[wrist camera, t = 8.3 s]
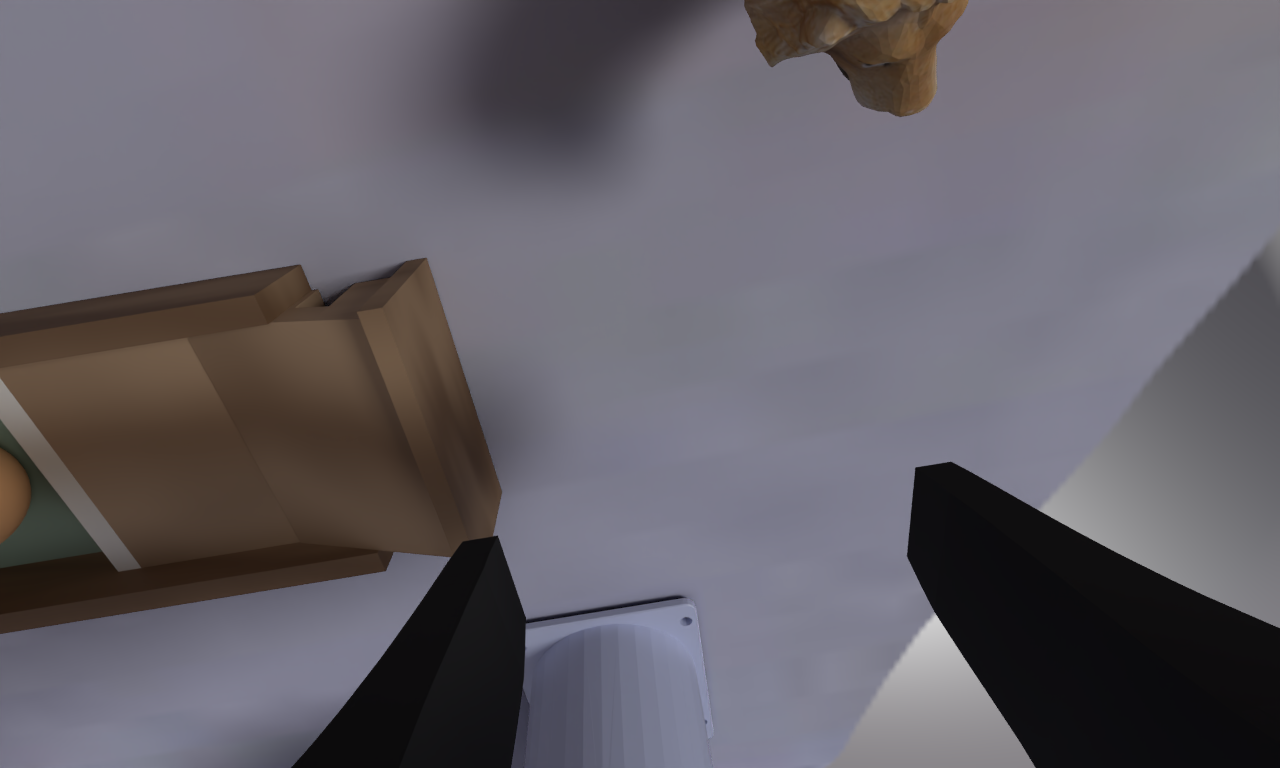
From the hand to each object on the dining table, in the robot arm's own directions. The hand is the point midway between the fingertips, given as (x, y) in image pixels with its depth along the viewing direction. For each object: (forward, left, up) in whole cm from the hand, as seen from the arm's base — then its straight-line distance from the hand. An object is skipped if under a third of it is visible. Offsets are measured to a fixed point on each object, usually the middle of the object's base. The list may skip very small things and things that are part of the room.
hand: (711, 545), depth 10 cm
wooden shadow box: (-1, +16, -10) cm, 19 cm away
